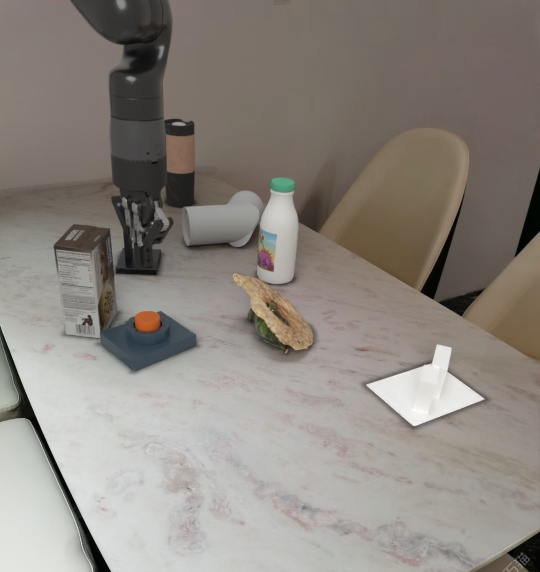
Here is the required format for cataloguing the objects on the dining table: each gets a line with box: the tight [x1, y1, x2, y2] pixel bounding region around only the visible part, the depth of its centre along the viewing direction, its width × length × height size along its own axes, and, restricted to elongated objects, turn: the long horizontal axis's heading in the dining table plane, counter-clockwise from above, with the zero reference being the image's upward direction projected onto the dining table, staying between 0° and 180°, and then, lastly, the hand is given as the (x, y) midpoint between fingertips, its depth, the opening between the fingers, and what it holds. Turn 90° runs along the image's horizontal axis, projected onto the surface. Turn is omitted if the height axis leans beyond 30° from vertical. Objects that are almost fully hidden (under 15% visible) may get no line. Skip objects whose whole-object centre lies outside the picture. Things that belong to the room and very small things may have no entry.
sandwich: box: [232, 272, 314, 355], centre depth 104 cm, size 18×14×8 cm
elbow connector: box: [181, 190, 265, 248], centre depth 135 cm, size 18×11×20 cm
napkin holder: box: [365, 344, 485, 427], centre depth 91 cm, size 15×11×6 cm
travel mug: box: [164, 118, 196, 208], centre depth 150 cm, size 8×8×20 cm
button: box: [134, 310, 160, 332], centre depth 96 cm, size 4×4×2 cm
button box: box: [99, 310, 197, 372], centre depth 97 cm, size 12×10×4 cm
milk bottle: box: [256, 176, 299, 285], centre depth 117 cm, size 8×8×20 cm
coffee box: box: [53, 223, 118, 339], centre depth 98 cm, size 9×6×16 cm
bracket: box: [115, 230, 162, 276], centre depth 120 cm, size 10×8×14 cm
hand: (143, 266), depth 91 cm, fingers closed
